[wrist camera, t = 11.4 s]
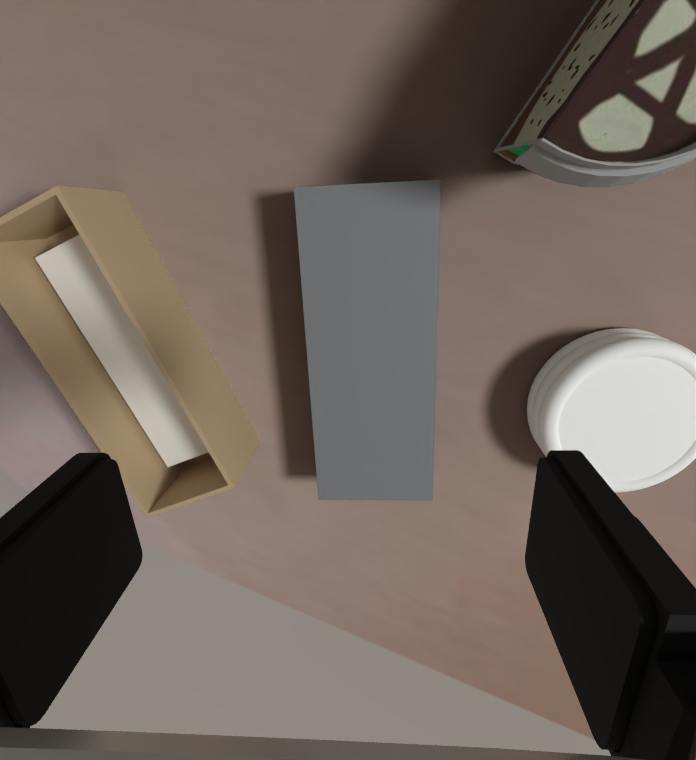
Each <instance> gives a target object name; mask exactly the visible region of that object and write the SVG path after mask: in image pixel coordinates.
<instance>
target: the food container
mask: <svg viewBox="0 0 696 760" xmlns="http://www.w3.org/2000/svg"><path fill="white" fill-rule="evenodd" d="M492 153H493V154H495V155H497V156H498V157H500V158H502V159H503V160H505V161H507V162H508V163H510V164H515V165H519V166H523V167H525V168H526V169H528V170H530V171H531V172H533V173H535V174H537V175H540V176H543V177H545V178H548V179H551V180H553V181H556V182H560V183H565V184H570V185H576V186H581V187H611V186H618V185H625V184H632V183H636V182H639V181H643V180H646V179H649V178H652V177H656V176H659V175H662V174H664V173H666V172H668V171H670V170H672V169H675V168H677V167H679V166H681V165H683V164H685V163H687V162H689V161H691V160H693V159H695V158H696V0H596V1H595V3H594V4H593V6H592V7H591V8H590V10H589V11H588V13H587V14H586V16H585V17H584V19H583V20H582V22H581V23H580V25H579V26H578V28H577V29H576V30H575V32H574V33H573V35H572V36H571V38H570V39H569V41H568V42H567V44H566V45H565V47H564V48H563V50H562V51H561V52H560V54H559V55H558V57H557V58H556V60H555V61H554V63H553V64H552V66H551V67H550V69H549V70H548V72H547V73H546V75H545V76H544V77H543V79H542V80H541V82H540V83H539V85H538V86H537V88H536V89H535V91H534V92H533V94H532V95H531V97H530V98H529V99H528V101H527V102H526V104H525V105H524V107H523V108H522V110H521V111H520V113H519V114H518V116H517V117H516V119H515V120H514V121H513V123H512V124H511V126H510V127H509V129H508V130H507V132H506V133H505V135H504V136H503V138H502V139H501V141H500V142H499V143H498V145H497V146H496V148H495V149H494V151H493V152H492Z"/></svg>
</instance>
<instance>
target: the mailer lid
mask: <svg viewBox="0 0 696 760" xmlns="http://www.w3.org/2000/svg"><path fill="white" fill-rule="evenodd" d="M294 198H295V210H296V223H297V235H298V248H299V261H300V273H301V286H302V298H303V311H304V324H305V336H306V349H307V361H308V374H309V387H310V399H311V412H312V425H313V437H314V450H315V462H316V475H317V488H318V500H433V465H434V427H435V389H436V351H437V314H438V276H439V238H440V200H441V179H440V180H421V181H402V182H383V183H364V184H345V185H327V186H308V187H294Z"/></svg>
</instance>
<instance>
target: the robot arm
mask: <svg viewBox="0 0 696 760" xmlns="http://www.w3.org/2000/svg"><path fill="white" fill-rule="evenodd" d="M141 562H142V549H141V546H140V542H139V538H138V534H137V531H136V527H135V524H134V520H133V517H132V513H131V509H130V506H129V502H128V499H127V495H126V491H125V488H124V484H123V481H122V477H121V473H120V470H119V466H118V464H117V462H116V461H115V460H113V459H111V457H110V456H109V455H108V454H106V453H78V454H76V455H75V456H73V457H72V458H71V459H70V460H69V461H67V462H66V463H65V464H64V465H63V466H62V467H60V468H59V469H58V470H57V471H56V472H54V473H53V474H52V475H51V476H50V477H49V478H47V479H46V480H45V481H44V482H43V483H41V484H40V485H39V486H38V487H37V488H35V489H34V490H33V491H32V492H31V493H30V494H28V495H27V496H26V497H25V498H24V499H23V500H21V501H20V502H19V503H18V504H16V505H15V506H14V507H13V508H12V509H11V510H9V511H8V512H7V513H6V514H5V515H4V516H2V517H1V518H0V760H696V589H695V587H694V586H693V585H692V584H691V583H690V581H689V580H688V579H687V578H686V576H685V575H684V574H683V573H682V572H681V570H680V569H679V568H678V567H677V565H676V564H675V563H674V562H673V561H672V559H671V558H670V557H669V556H668V555H667V553H666V552H665V551H664V550H663V548H662V547H661V546H660V545H659V544H658V542H657V541H656V540H655V539H654V538H653V536H652V535H651V534H650V533H649V531H648V530H647V529H646V528H645V527H644V525H643V524H642V523H641V522H640V521H639V520H638V519H637V518H636V517H635V516H633V515H632V513H631V512H630V511H629V510H628V508H627V507H626V506H625V505H624V504H623V502H622V501H621V500H620V499H619V497H618V496H617V495H616V494H615V493H614V491H613V490H612V489H611V488H610V486H609V485H608V484H607V483H606V481H605V480H604V479H603V478H602V477H601V475H600V474H599V473H598V472H597V470H596V469H595V468H594V467H593V466H592V464H591V463H590V462H589V461H588V459H587V458H586V457H585V456H584V454H583V453H582V452H580V451H578V450H551V451H549V452H548V454H547V457H541V458H540V459H539V461H538V466H537V473H536V481H535V488H534V495H533V502H532V510H531V517H530V524H529V531H528V539H527V546H526V553H525V564H526V570H527V573H528V576H529V578H530V581H531V583H532V586H533V588H534V591H535V593H536V596H537V598H538V601H539V603H540V606H541V608H542V611H543V613H544V616H545V618H546V620H547V623H548V625H549V628H550V630H551V633H552V635H553V638H554V640H555V643H556V645H557V648H558V650H559V653H560V655H561V658H562V660H563V662H564V665H565V667H566V670H567V672H568V675H569V677H570V680H571V682H572V685H573V687H574V690H575V692H576V695H577V697H578V700H579V702H580V705H581V707H582V709H583V712H584V714H585V717H586V719H587V722H588V724H589V727H590V729H591V732H592V734H593V737H594V739H595V741H596V743H597V744H598V746H599V747H600V748H601V749H607V750H609V751H610V754H611V756H602V755H588V754H573V753H572V754H571V753H558V752H557V753H556V752H543V751H529V750H514V749H499V748H478V747H458V746H437V745H417V744H395V743H375V742H355V741H334V740H310V739H288V738H264V737H242V736H218V735H195V734H169V733H145V732H121V731H120V732H118V731H91V730H64V729H37V728H30V726H31V725H34V724H36V723H37V722H38V721H39V720H40V719H41V718H42V717H43V715H44V714H45V713H46V711H47V710H48V708H49V706H50V705H51V703H52V702H53V700H54V699H55V697H56V696H57V694H58V693H59V691H60V689H61V688H62V686H63V685H64V683H65V681H66V680H67V679H68V677H69V676H70V674H71V673H72V671H73V669H74V668H75V666H76V665H77V663H78V662H79V660H80V658H81V657H82V656H83V654H84V652H85V651H86V649H87V648H88V646H89V645H90V643H91V641H92V640H93V639H94V637H95V635H96V634H97V632H98V631H99V629H100V628H101V626H102V624H103V623H104V621H105V620H106V618H107V617H108V615H109V614H110V612H111V611H112V609H113V608H114V606H115V604H116V603H117V601H118V600H119V598H120V597H121V595H122V594H123V592H124V591H125V589H126V588H127V586H128V584H129V583H130V581H131V580H132V578H133V577H134V575H135V574H136V572H137V570H138V569H139V567H140V564H141Z"/></svg>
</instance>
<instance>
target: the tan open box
mask: <svg viewBox="0 0 696 760" xmlns="http://www.w3.org/2000/svg"><path fill="white" fill-rule="evenodd" d="M0 304H1V305H2V307H3V308H4V310H5V311H6V312H7V314H8V315H9V317H10V318H11V320H12V321H13V323H14V324H15V326H16V327H17V329H18V330H19V332H20V333H21V335H22V336H23V337H24V339H25V340H26V342H27V343H28V345H29V346H30V348H31V349H32V351H33V352H34V354H35V355H36V357H37V358H38V360H39V361H40V362H41V364H42V365H43V367H44V368H45V370H46V371H47V373H48V374H49V376H50V377H51V379H52V380H53V382H54V383H55V385H56V386H57V387H58V389H59V390H60V392H61V393H62V395H63V396H64V398H65V399H66V401H67V402H68V404H69V405H70V407H71V408H72V409H73V411H74V412H75V414H76V415H77V417H78V418H79V420H80V421H81V423H82V424H83V426H84V427H85V429H86V430H87V432H88V433H89V434H90V436H91V437H92V439H93V440H94V442H95V443H96V445H97V446H98V448H99V449H100V451H101V452H102V453H106V454H108V455H109V456H110V457H111V459H113V460H115V461H116V462H117V464H118V466H119V470H120V473H121V477H122V481H123V484H124V486H125V487H126V489H127V490H128V492H129V493H130V495H131V496H132V498H133V499H134V501H135V502H136V504H137V505H138V507H139V508H140V509H141V511H142V512H143V514H144V515H145V517H146V518H149V517H152V516H155V515H158V514H161V513H164V512H167V511H170V510H173V509H175V508H178V507H181V506H184V505H187V504H190V503H193V502H196V501H199V500H201V499H204V498H207V497H210V496H213V495H216V494H219V493H222V492H225V491H227V490H230V489H233V488H235V487H236V485H237V483H238V482H239V480H240V478H241V476H242V474H243V472H244V471H245V469H246V467H247V465H248V463H249V461H250V459H251V458H252V456H253V454H254V452H255V450H256V448H257V447H258V445H259V443H260V440H259V439H258V437H257V435H256V433H255V431H254V429H253V428H252V426H251V424H250V422H249V420H248V418H247V417H246V415H245V413H244V411H243V409H242V407H241V406H240V404H239V402H238V400H237V398H236V396H235V395H234V393H233V391H232V389H231V387H230V386H229V384H228V382H227V380H226V378H225V376H224V375H223V373H222V371H221V369H220V367H219V365H218V364H217V362H216V360H215V358H214V356H213V354H212V353H211V351H210V349H209V347H208V345H207V343H206V342H205V340H204V338H203V336H202V334H201V333H200V331H199V329H198V327H197V325H196V323H195V322H194V320H193V318H192V316H191V314H190V312H189V311H188V309H187V307H186V305H185V303H184V301H183V300H182V298H181V296H180V294H179V292H178V290H177V289H176V287H175V285H174V283H173V281H172V280H171V278H170V276H169V274H168V272H167V270H166V269H165V267H164V265H163V263H162V261H161V259H160V258H159V256H158V254H157V252H156V250H155V248H154V247H153V245H152V243H151V241H150V239H149V238H148V236H147V234H146V232H145V230H144V228H143V227H142V225H141V223H140V221H139V219H138V217H137V216H136V214H135V212H134V210H133V208H132V206H131V205H130V203H129V201H128V199H127V197H126V195H125V194H124V192H120V191H110V190H99V189H88V188H77V187H67V186H55V187H54V188H52V189H50V190H48V191H46V192H45V193H43V194H41V195H39V196H38V197H36V198H34V199H32V200H30V201H29V202H27V203H25V204H23V205H21V206H20V207H18V208H16V209H14V210H12V211H11V212H9V213H7V214H5V215H4V216H2V217H0Z"/></svg>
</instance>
